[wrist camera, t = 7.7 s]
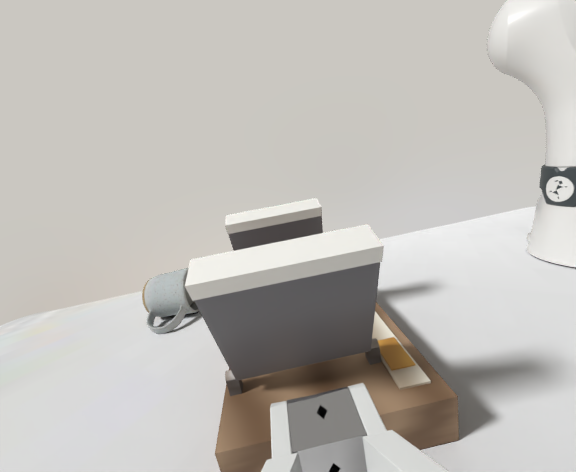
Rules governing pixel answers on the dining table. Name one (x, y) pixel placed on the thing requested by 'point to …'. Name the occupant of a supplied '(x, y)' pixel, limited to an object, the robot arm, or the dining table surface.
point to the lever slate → (274, 224)
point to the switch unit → (333, 375)
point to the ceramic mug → (167, 299)
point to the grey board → (290, 300)
